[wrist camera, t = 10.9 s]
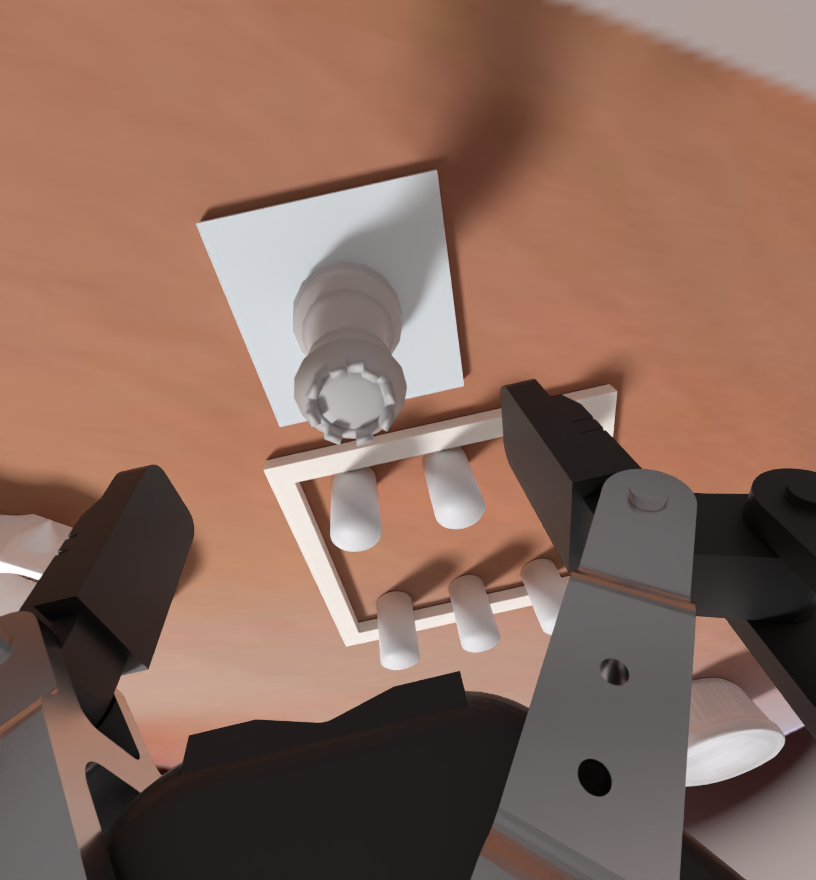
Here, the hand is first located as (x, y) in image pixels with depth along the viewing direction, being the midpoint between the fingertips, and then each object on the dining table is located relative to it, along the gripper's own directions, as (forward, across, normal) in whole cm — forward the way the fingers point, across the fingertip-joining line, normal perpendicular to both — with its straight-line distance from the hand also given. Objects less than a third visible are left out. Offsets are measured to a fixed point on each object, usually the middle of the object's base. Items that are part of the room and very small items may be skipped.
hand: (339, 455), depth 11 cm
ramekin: (+10, -24, +46) cm, 52 cm away
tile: (+10, 0, 0) cm, 11 cm away
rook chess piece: (+10, 0, 0) cm, 10 cm away
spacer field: (+10, -4, +15) cm, 18 cm away
